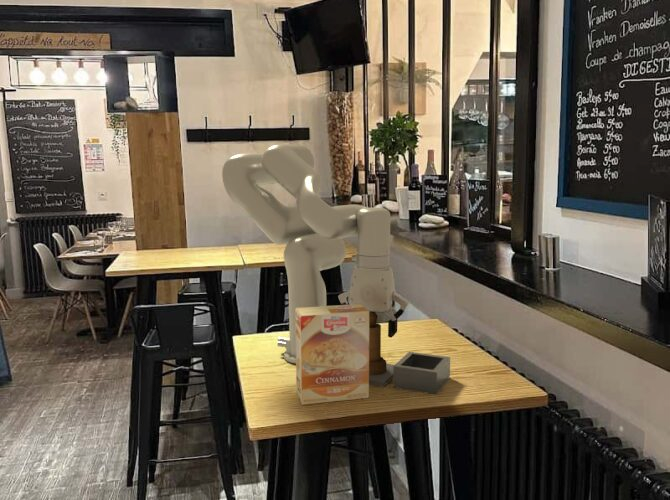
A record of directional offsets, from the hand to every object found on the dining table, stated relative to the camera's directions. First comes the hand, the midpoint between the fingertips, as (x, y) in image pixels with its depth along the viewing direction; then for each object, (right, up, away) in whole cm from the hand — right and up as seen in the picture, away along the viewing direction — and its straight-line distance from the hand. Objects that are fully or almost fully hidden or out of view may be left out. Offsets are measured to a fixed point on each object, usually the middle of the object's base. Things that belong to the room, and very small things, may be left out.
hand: (372, 333), depth 147 cm
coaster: (0, -10, +1) cm, 10 cm away
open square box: (+11, -11, -4) cm, 16 cm away
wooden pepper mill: (0, -9, +1) cm, 9 cm away
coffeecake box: (-9, -12, -11) cm, 19 cm away
